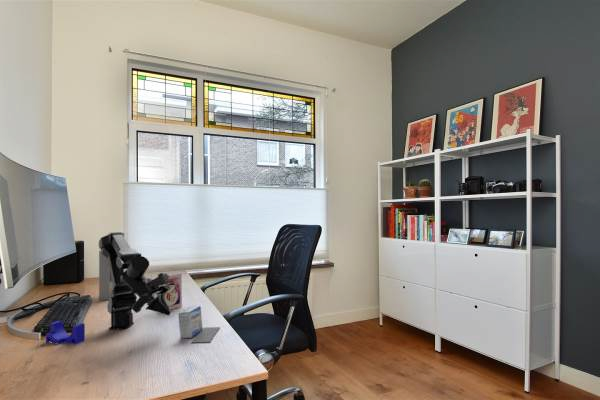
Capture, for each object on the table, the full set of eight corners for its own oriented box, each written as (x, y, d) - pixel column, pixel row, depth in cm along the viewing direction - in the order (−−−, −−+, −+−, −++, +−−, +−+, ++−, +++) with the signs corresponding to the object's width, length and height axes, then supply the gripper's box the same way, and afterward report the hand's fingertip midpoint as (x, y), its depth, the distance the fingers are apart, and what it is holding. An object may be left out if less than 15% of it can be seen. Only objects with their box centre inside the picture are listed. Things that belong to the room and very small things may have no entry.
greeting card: (161, 312, 145) (161, 277, 145) (150, 310, 149) (150, 276, 149) (183, 306, 155) (182, 273, 155) (172, 304, 158) (172, 272, 159)
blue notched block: (45, 342, 114) (45, 324, 114) (59, 338, 118) (59, 320, 118) (71, 346, 110) (71, 327, 110) (84, 341, 114) (84, 323, 114)
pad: (191, 343, 110) (191, 342, 110) (203, 328, 124) (203, 327, 124) (209, 342, 110) (209, 341, 110) (220, 327, 124) (219, 327, 124)
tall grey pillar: (110, 300, 168) (110, 250, 169) (98, 300, 169) (98, 250, 170) (125, 293, 182) (125, 247, 183) (114, 293, 182) (114, 247, 183)
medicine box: (191, 337, 113) (189, 312, 114) (179, 338, 114) (177, 312, 115) (203, 329, 121) (201, 305, 122) (191, 330, 122) (189, 306, 123)
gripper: (141, 271, 109) (175, 304, 108) (165, 262, 128) (194, 291, 127) (117, 295, 109) (151, 329, 108) (144, 283, 128) (174, 312, 127)
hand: (169, 314), depth 118 cm, fingers closed
